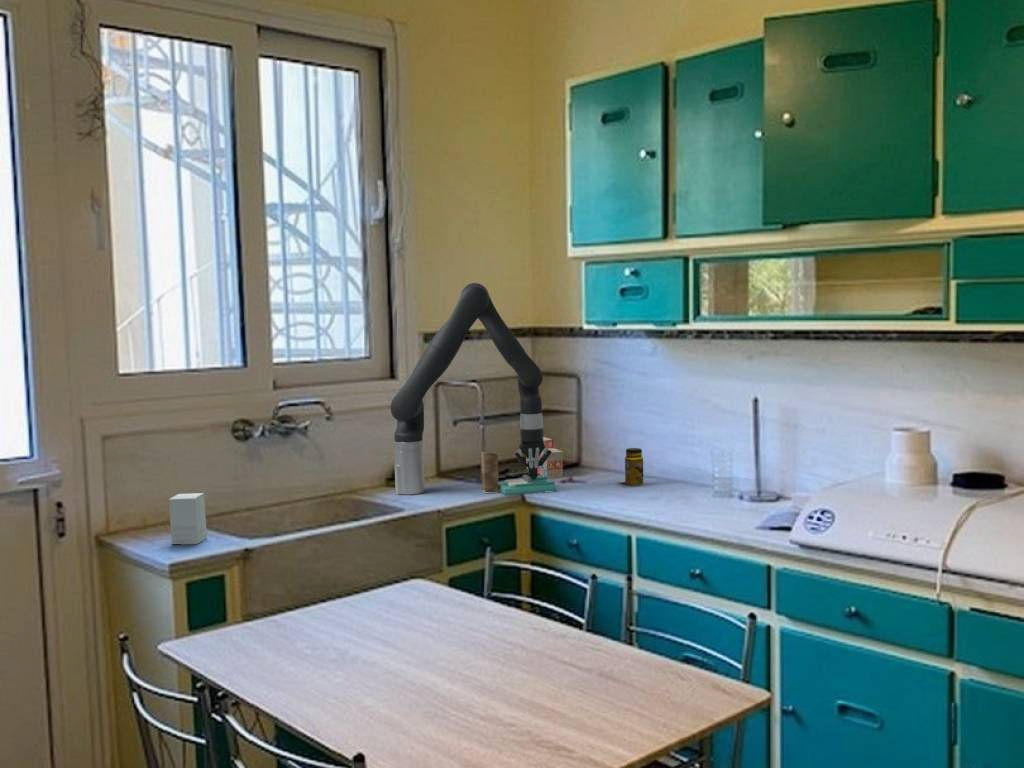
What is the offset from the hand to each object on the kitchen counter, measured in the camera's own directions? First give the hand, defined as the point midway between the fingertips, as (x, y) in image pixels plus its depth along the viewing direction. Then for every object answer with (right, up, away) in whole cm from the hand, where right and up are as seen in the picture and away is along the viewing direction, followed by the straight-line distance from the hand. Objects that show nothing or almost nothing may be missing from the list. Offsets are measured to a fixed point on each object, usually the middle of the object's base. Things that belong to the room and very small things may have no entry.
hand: (533, 479), depth 332 cm
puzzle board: (-2, -4, 0) cm, 4 cm away
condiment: (+33, -3, +4) cm, 33 cm away
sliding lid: (-5, -2, -1) cm, 5 cm away
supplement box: (-94, -12, -59) cm, 112 cm away
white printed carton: (+5, -1, +31) cm, 31 cm away
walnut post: (-14, -4, -1) cm, 15 cm away
